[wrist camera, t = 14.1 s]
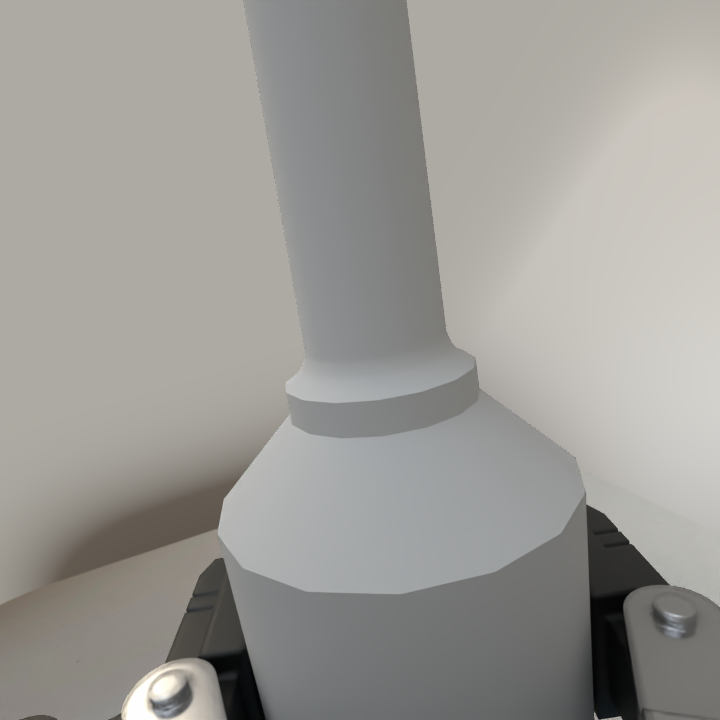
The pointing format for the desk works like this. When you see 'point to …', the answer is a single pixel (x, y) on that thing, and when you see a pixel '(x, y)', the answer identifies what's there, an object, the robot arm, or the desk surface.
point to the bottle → (391, 430)
